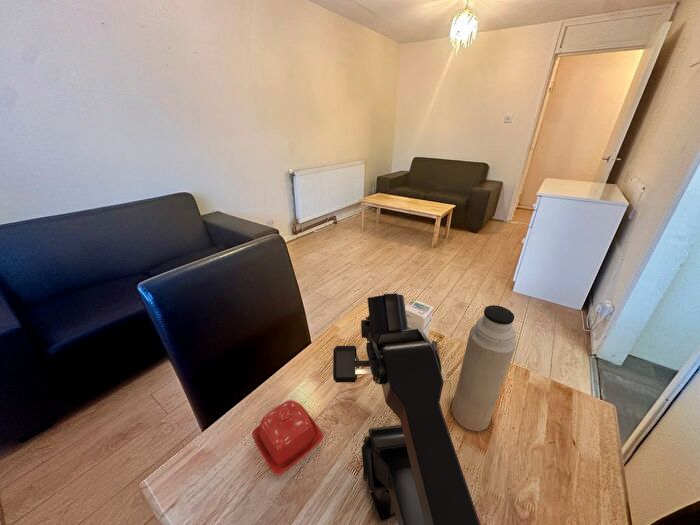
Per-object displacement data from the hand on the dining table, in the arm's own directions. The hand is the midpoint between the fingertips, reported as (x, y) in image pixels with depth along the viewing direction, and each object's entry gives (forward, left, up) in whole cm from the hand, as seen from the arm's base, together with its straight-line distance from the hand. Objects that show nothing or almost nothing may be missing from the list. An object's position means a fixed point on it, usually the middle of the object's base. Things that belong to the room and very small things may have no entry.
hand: (379, 362), depth 59 cm
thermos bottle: (-9, -19, -14) cm, 25 cm away
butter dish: (0, +20, -14) cm, 25 cm away
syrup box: (+9, -15, -11) cm, 21 cm away
